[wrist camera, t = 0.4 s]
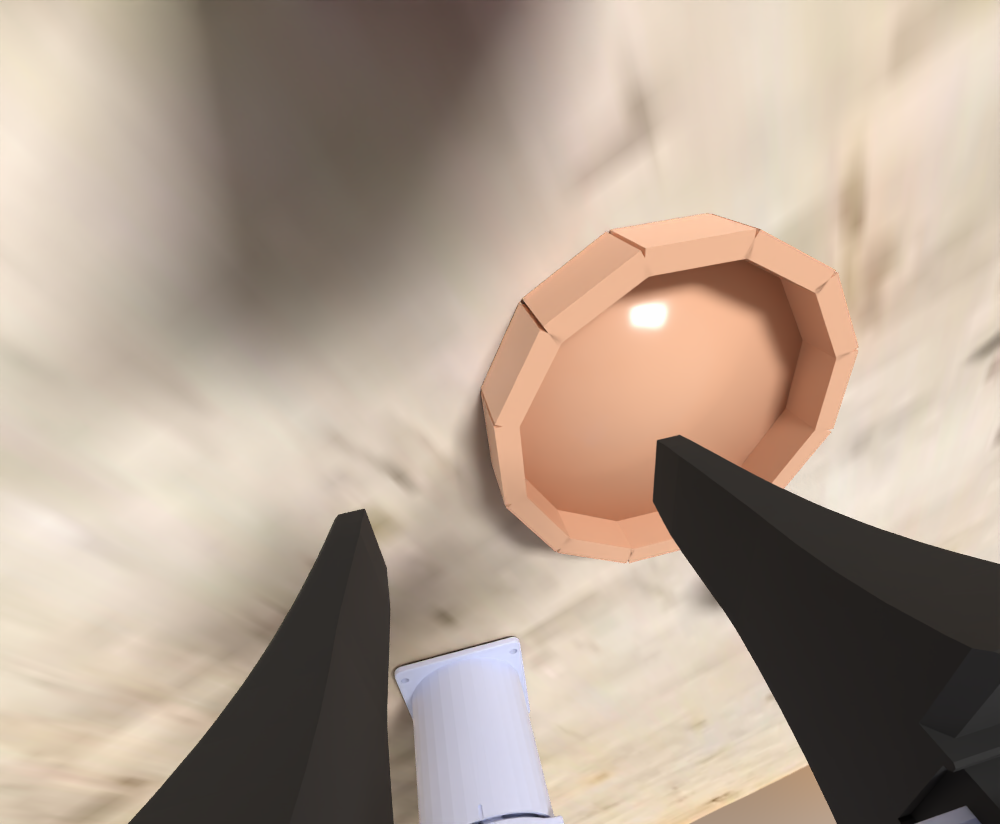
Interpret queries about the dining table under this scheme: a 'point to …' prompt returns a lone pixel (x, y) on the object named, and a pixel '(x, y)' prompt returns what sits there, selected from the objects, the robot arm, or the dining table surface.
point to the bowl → (661, 376)
